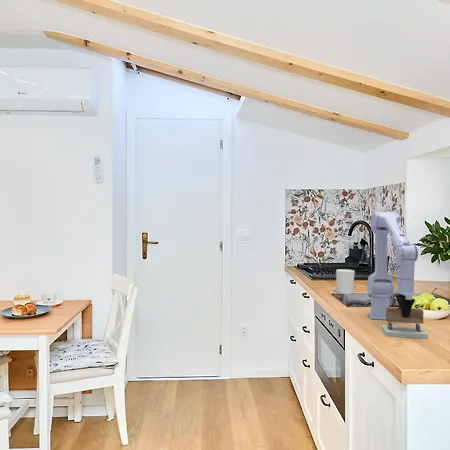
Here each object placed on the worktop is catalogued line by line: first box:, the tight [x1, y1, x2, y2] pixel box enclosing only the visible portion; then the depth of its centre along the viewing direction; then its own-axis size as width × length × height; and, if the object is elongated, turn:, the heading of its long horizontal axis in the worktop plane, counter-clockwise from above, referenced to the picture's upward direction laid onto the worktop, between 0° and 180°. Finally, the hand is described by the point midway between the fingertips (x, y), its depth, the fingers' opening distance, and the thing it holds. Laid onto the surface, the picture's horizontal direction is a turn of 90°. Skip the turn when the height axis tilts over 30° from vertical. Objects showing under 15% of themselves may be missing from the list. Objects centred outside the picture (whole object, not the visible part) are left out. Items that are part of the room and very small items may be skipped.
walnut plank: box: [385, 306, 425, 325], centre depth 173 cm, size 4×12×4 cm, turn 80°
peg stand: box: [381, 321, 429, 339], centre depth 173 cm, size 10×14×4 cm
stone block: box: [342, 292, 371, 305], centre depth 232 cm, size 12×5×10 cm
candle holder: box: [335, 268, 356, 295], centre depth 257 cm, size 10×10×12 cm
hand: (404, 316), depth 173 cm, fingers closed on walnut plank, 4 cm apart
